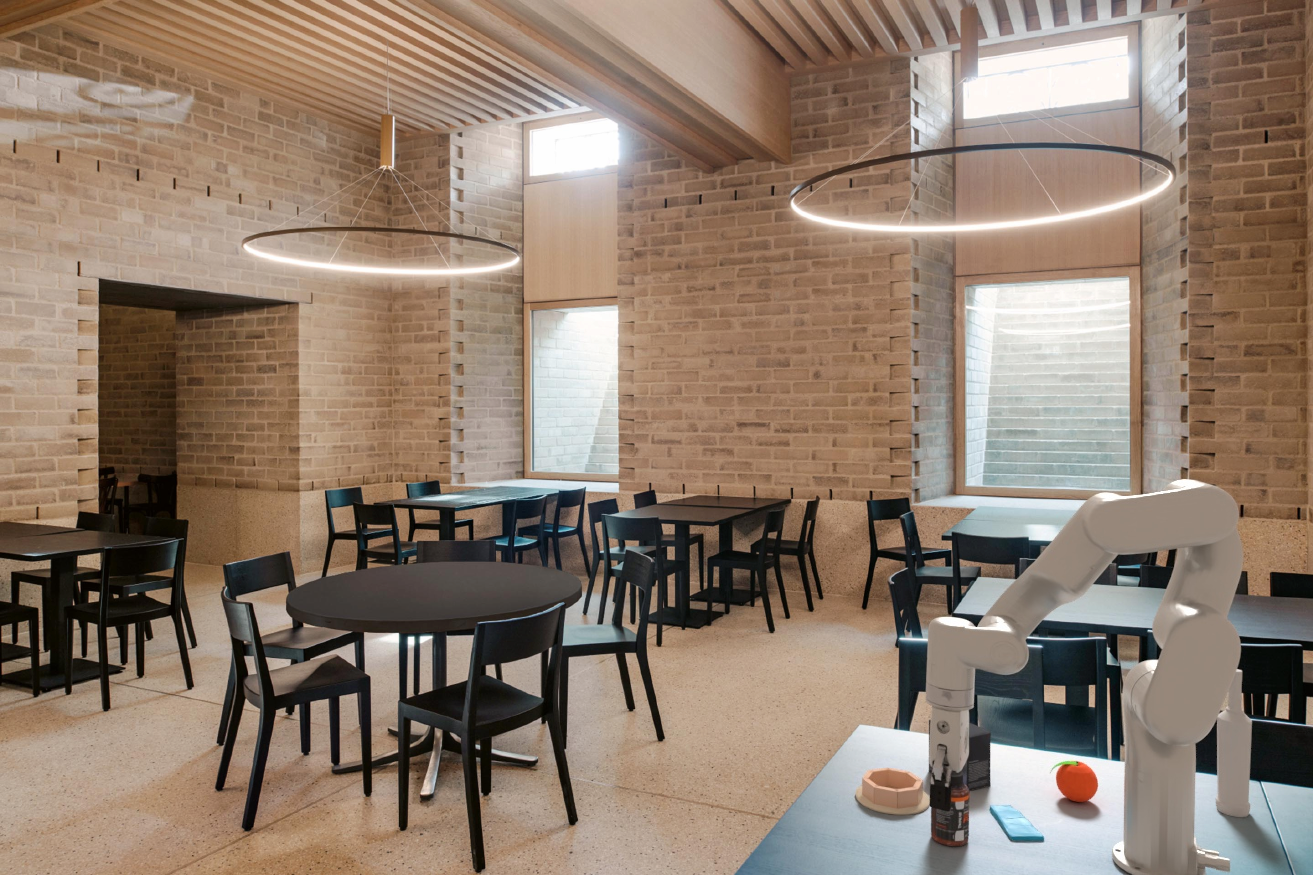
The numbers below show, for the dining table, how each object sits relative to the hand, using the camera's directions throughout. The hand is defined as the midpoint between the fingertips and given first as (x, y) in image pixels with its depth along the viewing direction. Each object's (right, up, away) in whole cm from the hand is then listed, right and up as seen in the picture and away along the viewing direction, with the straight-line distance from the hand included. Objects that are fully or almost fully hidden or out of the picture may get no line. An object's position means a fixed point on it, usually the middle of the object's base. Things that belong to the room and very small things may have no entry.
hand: (945, 797), depth 148 cm
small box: (+10, -6, +24) cm, 27 cm away
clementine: (+28, -7, +15) cm, 32 cm away
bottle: (+54, -7, +10) cm, 55 cm away
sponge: (+14, -7, +5) cm, 16 cm away
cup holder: (-5, -6, +15) cm, 17 cm away
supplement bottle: (+1, -7, 0) cm, 7 cm away
